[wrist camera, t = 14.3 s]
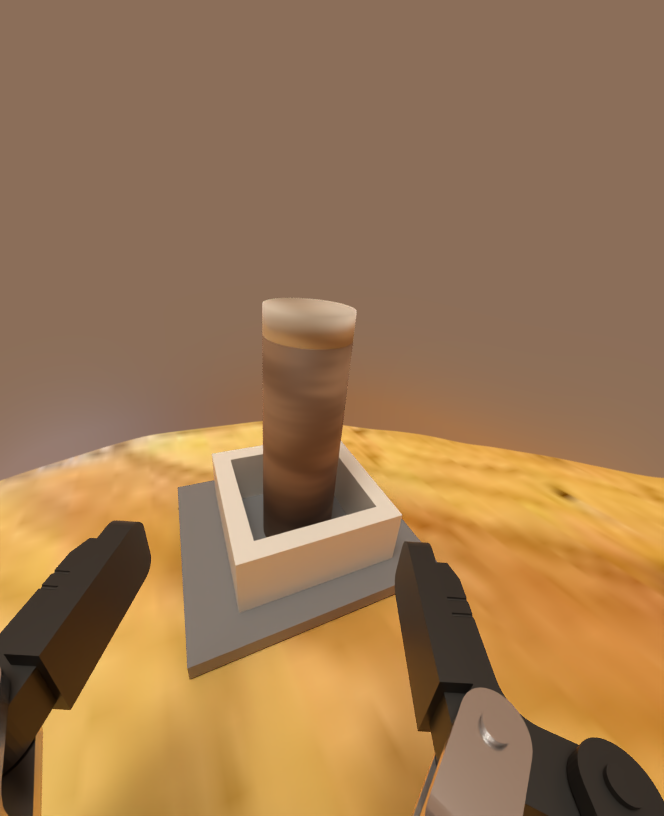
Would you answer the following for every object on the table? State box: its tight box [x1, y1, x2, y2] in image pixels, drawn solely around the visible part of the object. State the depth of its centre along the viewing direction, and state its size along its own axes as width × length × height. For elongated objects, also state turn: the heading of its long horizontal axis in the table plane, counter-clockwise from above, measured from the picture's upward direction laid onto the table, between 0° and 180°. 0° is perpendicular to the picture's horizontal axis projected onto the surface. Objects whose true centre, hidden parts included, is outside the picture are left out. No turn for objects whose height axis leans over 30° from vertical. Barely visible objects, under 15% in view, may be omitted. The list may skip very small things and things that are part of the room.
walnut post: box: [262, 298, 357, 538], centre depth 21 cm, size 5×5×16 cm
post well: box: [178, 442, 437, 679], centre depth 24 cm, size 16×14×5 cm
